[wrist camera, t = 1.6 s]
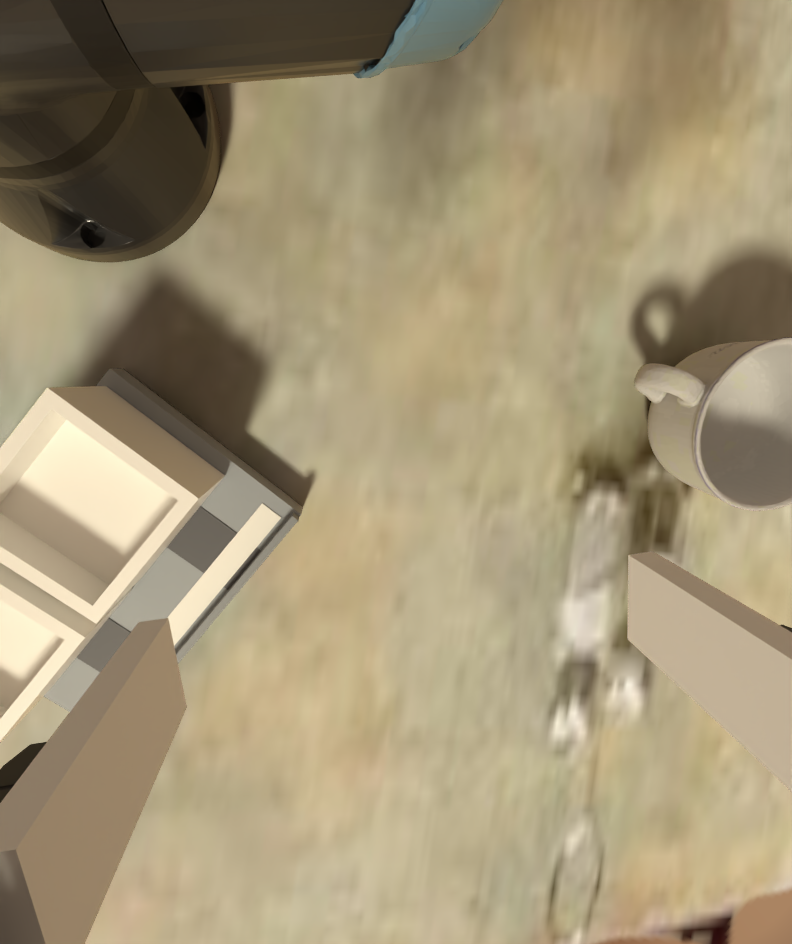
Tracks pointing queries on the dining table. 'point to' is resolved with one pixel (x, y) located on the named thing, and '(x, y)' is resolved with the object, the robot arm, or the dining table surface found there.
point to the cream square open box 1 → (93, 496)
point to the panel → (189, 548)
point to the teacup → (726, 421)
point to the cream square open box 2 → (35, 644)
